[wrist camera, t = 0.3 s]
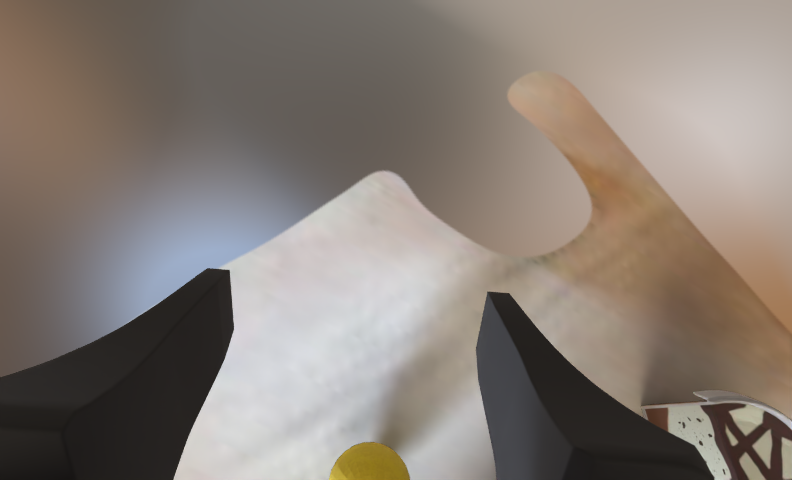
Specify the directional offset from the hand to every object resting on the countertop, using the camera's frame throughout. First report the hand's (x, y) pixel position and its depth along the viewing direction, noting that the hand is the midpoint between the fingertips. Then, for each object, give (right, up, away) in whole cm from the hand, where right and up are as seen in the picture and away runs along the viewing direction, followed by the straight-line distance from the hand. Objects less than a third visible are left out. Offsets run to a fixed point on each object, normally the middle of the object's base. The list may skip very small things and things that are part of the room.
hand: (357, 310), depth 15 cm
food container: (+24, -15, +27) cm, 39 cm away
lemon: (-1, -16, +26) cm, 30 cm away
